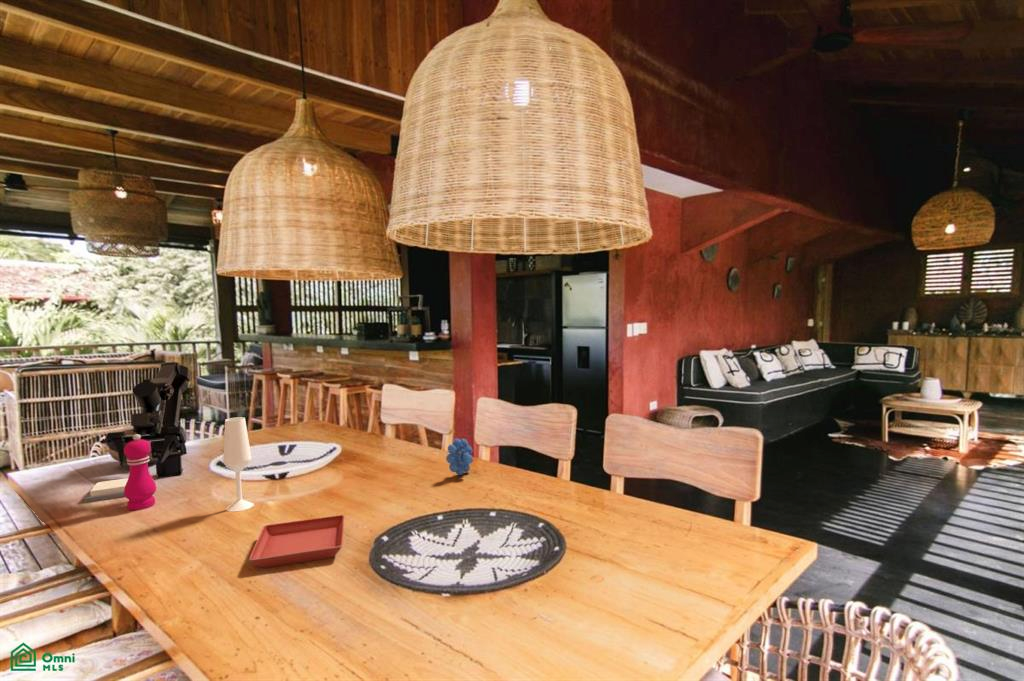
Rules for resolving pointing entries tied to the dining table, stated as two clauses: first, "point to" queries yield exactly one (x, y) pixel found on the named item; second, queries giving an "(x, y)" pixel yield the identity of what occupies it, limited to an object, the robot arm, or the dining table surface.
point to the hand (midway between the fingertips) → (141, 464)
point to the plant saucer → (298, 541)
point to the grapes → (459, 456)
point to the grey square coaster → (106, 490)
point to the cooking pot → (115, 456)
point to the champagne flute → (237, 456)
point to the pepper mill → (139, 475)
